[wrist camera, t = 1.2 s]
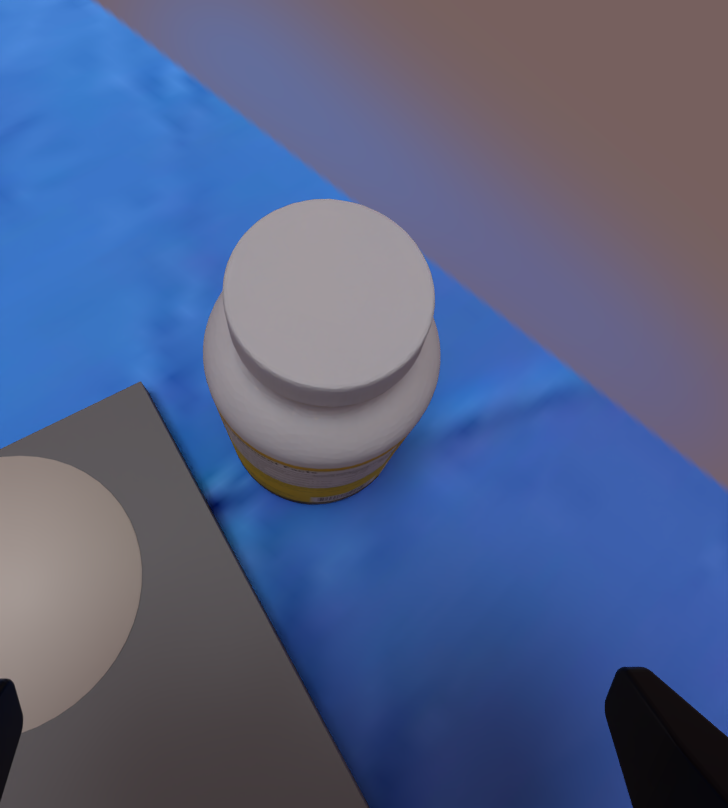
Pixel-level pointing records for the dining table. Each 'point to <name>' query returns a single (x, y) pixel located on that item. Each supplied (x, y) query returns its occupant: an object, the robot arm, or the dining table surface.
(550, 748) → the dining table surface
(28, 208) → the dining table surface
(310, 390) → the pill bottle
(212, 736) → the panel board
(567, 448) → the dining table surface
